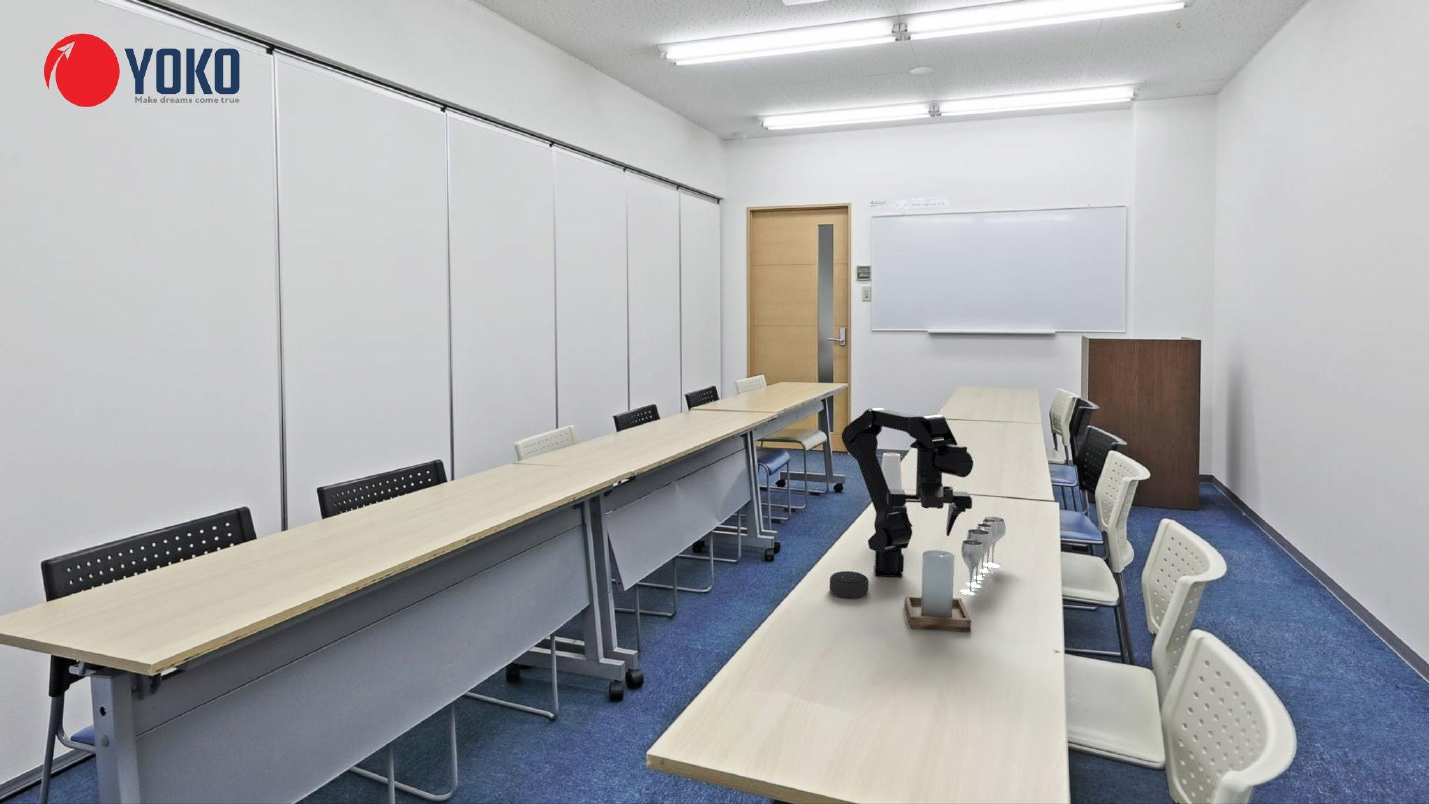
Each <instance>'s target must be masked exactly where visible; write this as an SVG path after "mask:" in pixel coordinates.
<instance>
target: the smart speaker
mask: <svg viewBox="0 0 1429 804" xmlns="http://www.w3.org/2000/svg"><path fill="white" fill-rule="evenodd" d="M869 585H870V584H869V578H868V577H867V576H866V575H865V574H863V573H860V572H857V571H851V570H849V571H848V570H843V571H838V572H834V573H833V574H831V575H830V577H829V590H830V593H831V594H833V595H834V596H836V597H838V598H843V599H860V598H862V597H865V596H866V595H867V594H868V593H869Z"/></svg>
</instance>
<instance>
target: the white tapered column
mask: <svg viewBox="0 0 1429 804" xmlns="http://www.w3.org/2000/svg"><path fill="white" fill-rule="evenodd" d="M881 461H882V462H881V469H882V472H883V475H884V478H885V480H886V483H887V486H888V488H889V489H890V490H903V477H902V466H901V464H902V463H901V462H902V461H901V454H899V453H897V452H884V453H883V454H882V460H881Z"/></svg>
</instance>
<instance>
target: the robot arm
mask: <svg viewBox="0 0 1429 804" xmlns="http://www.w3.org/2000/svg"><path fill="white" fill-rule="evenodd" d="M883 427H884V428H887V429H891V430H892V429H893V430H897V431H901V432H905V433H906V434H908V436H910V437H911V438H913V439H914V441H913V442H912V443H910V445H909V447H910V448H911V449H916V451H917V452H916V483H915V484H916V485H915V493H906V492H905V490H904V489H902V490H890V489H889V488H888V486H887V483H886V480H885V478H884V475H883V472H882V469H881V468H882V466H881V465H880V462H879V459H878V456H877V449H878V444H879V443H878V442H879V441H878V436H879V435H880V433H881V432H882V429H883ZM841 439H842V443H843V445H844V447H845V449H846V451H847V452H848V453H849V454H850V455H851V456H852V457H853V458H854V459H855V460H856V461H857V463H858V464H857V465H858V466H859V469H860V472H861V474H862V477H863V480H864V483H865V485H866V489H867V492H868V494H869V496H870V500H871V502H872V506H873V508H874V511H875V519H874V530H875V531H874V532H875V533H874V534H873V535H871V537H869V539H868V540H867V544H868V548H869V549H870V550H872V551H874V565H873V571H874V576H876V577H899V578H901V577H903V573H904V566H905V565H904V564H905V562H904V561H905V556H904V554H903V552H902V549H907V548H908V547H909V544H910V541H911V539H912V536H913V530H912V527H913V525H912V523H911V521H910V519H909V515H908V508H907V506H906V504H907V503H916V504H917V503H920V506H921V507H922V508H923V509H933V508H934V509H938V510H939V509H940V510H941V509H943V508H944V505H945V504H948V509H947V511H948V512H947V517H946V518H947V519H946V520H947V521H946V528H945V529H946V530H945V531H946V536H947V537H950V534H951V532H952V529H953V527H954V525H955V522H956V520H957V518H958V517H959V515H960V514H962V513H965V512H966V510H971V509H972V508H973V498H972V497H971V495H970V494H969V492H967V491H955V490H954V488H953V486H951V485H949V486H946V485H943V474H946V475H951V476H954V477H959V478H966V477H968V476H969V475H970V474H971V472H972V470H973V467H974V460H973V457H972V455H971V454H970V453H969V452H968V447H967V446H964V445H958V442H957V440H956V437H955V436H954V434H953V432H952V430H951V428H950V426H949V423H948V421H947V420H946V417H945V416H943V415H941V414H928V415H926V414H925V415H914V414H908V413H905V412H903V413H902V412H898V411H893V410H890V409H885V408H883V407H874V408H873V407H872V408H868V409H866V410H865V411H864V412H863V413H862V414H861V415H860V416H858V417H857V418H855V419H853V420H852V421H851V422H849V424H848V425H846V426H845V427H844V428H843V431H842V433H841Z"/></svg>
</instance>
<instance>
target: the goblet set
mask: <svg viewBox="0 0 1429 804" xmlns="http://www.w3.org/2000/svg"><path fill="white" fill-rule="evenodd" d="M1006 532H1007V527H1006V523H1005V520H1004V518H1002V517H999V516H998V517H997V516H988V517H984V519H983V520H982V523H978V524H977V525H976V528H971V529H968V530H967V534H966V540H963V541H962V543H961V548H960V549H961V551H960V553H961V558H962V560H963V562H964V563H965V565H966V567H967V568H968V573H969V581H967V582H965V584H966V585H967V586H968V588H967V587H965V588H962V589H960V593H961V592H962V593H961V594H964V595H966V594H969V595H968V596H979V595H980V594H981V592H980V591H979V590H978V589H982V588H983V589H984V588H986V587H987V584H986V583H985V582H983V581H990V580H991V577H990V576H989V575H987V574H995V573H996V570H994V569H993V568H1001V567H1003V564H1002V563H1000V562H999V561H998V562H997V561H994V556H995V555H994V554H995V547H996V544H997V542H999V541H1000V540H1001V539H1002V538H1003V537H1004V536H1005V535H1006ZM990 551H991V553H992V554H991V560H990V559H989V558H990ZM985 555H986V556H985ZM985 557H986V561H985V560H984V559H985ZM980 562H981V568H979V565H980ZM984 566H985V567H984ZM974 570H975V575H973V573H974ZM979 571H980V573H981V574H978V573H979ZM973 578H974V579H975V580H973ZM978 580H979V581H978ZM974 587H975V588H974ZM978 594H979V595H978Z"/></svg>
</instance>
